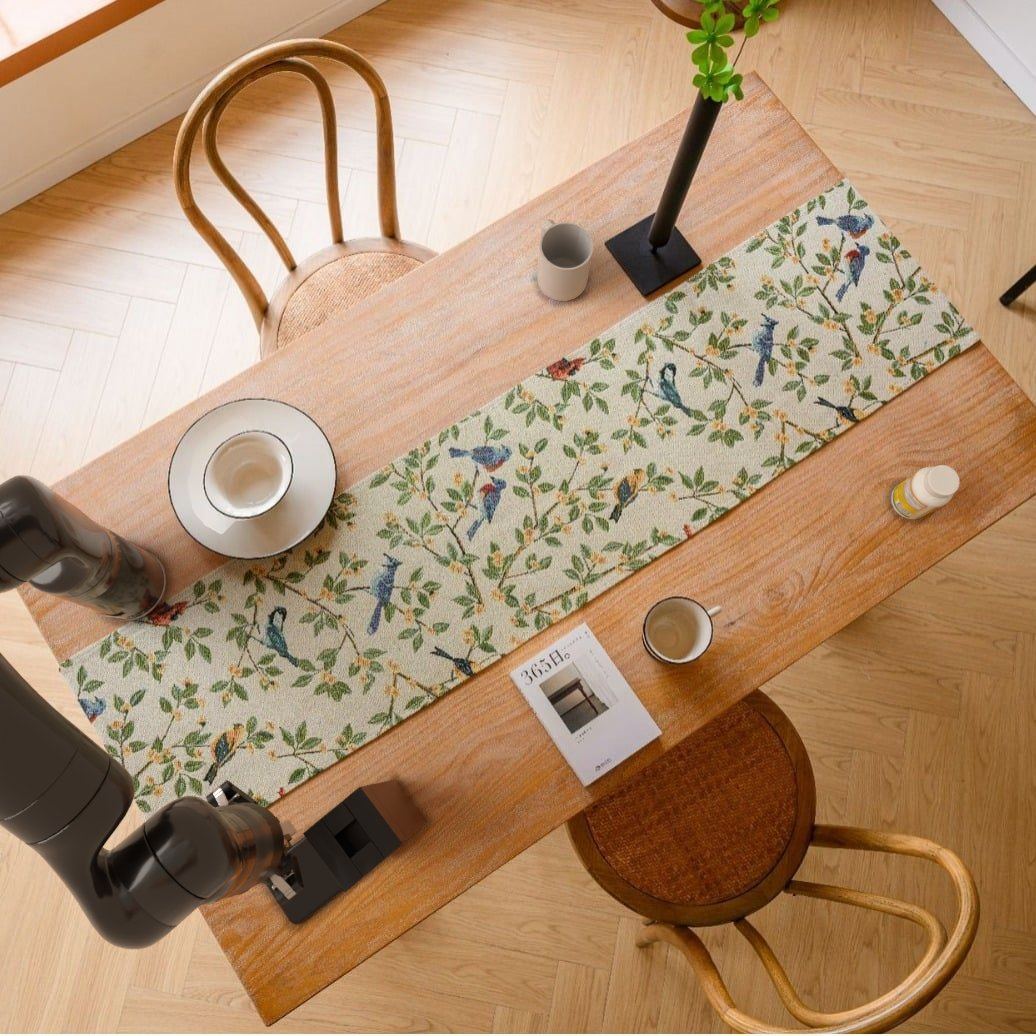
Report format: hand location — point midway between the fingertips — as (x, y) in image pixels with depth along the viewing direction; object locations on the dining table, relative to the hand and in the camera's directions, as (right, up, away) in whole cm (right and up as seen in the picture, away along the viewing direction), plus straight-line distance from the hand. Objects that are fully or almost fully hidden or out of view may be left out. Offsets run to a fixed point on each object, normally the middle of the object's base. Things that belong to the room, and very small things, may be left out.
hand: (276, 834), depth 97 cm
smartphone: (+3, -7, +14) cm, 16 cm away
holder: (+10, -3, +14) cm, 18 cm away
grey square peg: (0, -1, +5) cm, 5 cm away
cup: (+31, +69, +34) cm, 83 cm away
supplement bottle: (+78, +36, +26) cm, 90 cm away
